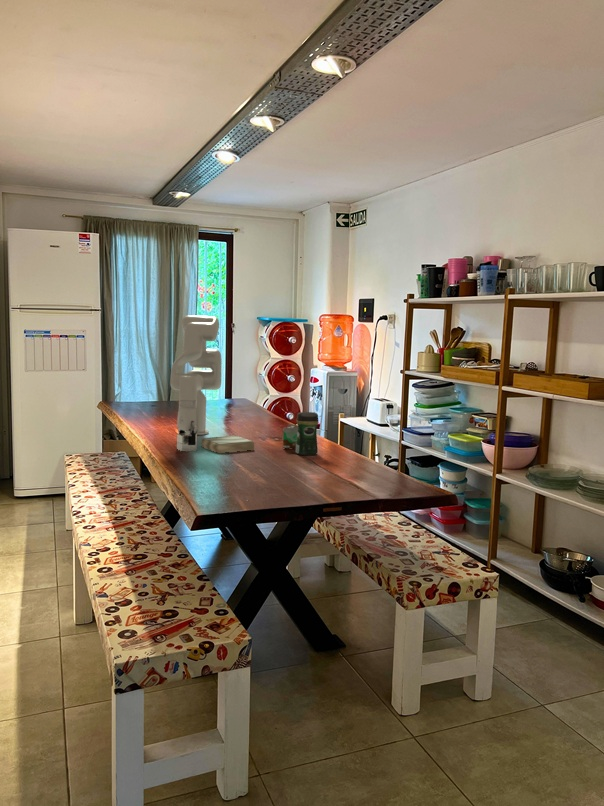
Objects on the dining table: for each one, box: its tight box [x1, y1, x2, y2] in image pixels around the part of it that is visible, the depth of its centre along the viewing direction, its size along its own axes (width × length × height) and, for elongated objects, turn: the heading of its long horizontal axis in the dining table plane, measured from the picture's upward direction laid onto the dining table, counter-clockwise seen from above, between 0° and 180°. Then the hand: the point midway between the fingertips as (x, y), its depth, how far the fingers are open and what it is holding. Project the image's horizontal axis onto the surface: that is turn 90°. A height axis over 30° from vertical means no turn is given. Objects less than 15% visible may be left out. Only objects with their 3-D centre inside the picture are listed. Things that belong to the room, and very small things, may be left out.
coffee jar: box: [294, 411, 319, 456], centre depth 287 cm, size 10×8×19 cm
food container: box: [282, 423, 298, 450], centre depth 300 cm, size 12×6×10 cm, turn 168°
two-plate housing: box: [176, 433, 198, 452], centre depth 285 cm, size 5×7×7 cm
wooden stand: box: [201, 435, 255, 454], centre depth 293 cm, size 16×18×4 cm
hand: (186, 443), depth 285 cm, fingers open, 9 cm apart
